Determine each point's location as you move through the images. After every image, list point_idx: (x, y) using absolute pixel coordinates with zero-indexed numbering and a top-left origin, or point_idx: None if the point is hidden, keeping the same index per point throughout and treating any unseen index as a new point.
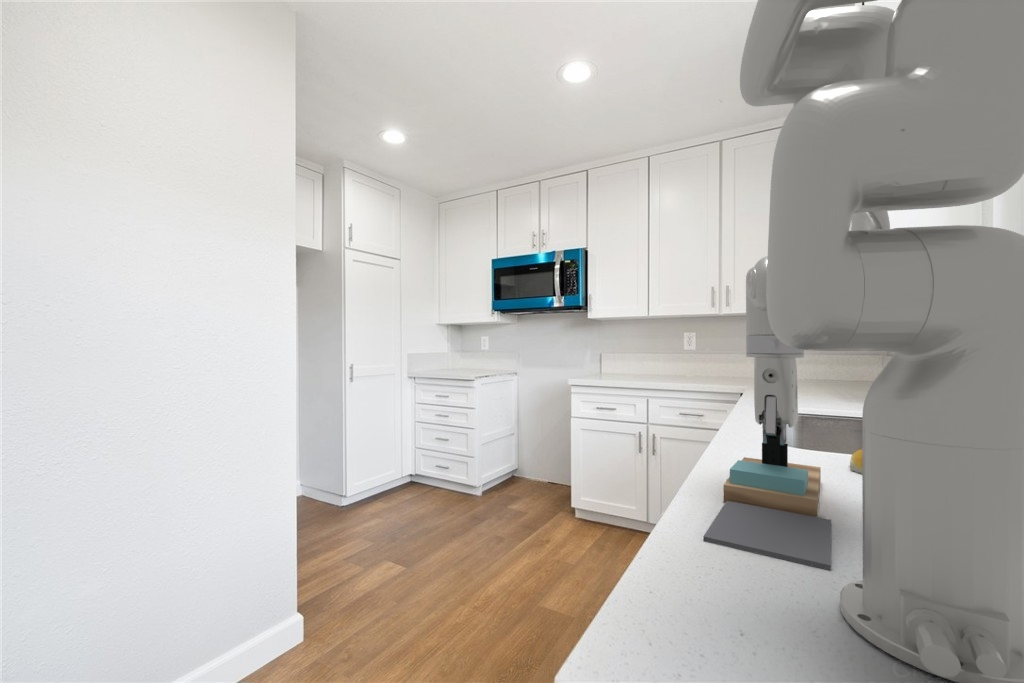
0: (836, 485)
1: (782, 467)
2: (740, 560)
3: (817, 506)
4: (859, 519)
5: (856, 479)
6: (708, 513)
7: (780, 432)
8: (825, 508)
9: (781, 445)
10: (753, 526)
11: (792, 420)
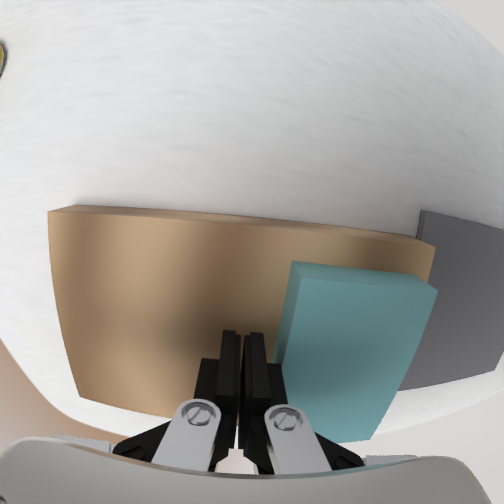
0: (77, 165)
1: (303, 354)
2: None
3: (389, 236)
4: (369, 142)
5: (16, 127)
6: (416, 395)
7: (346, 465)
8: (321, 207)
9: (294, 414)
10: (473, 333)
11: (469, 473)
